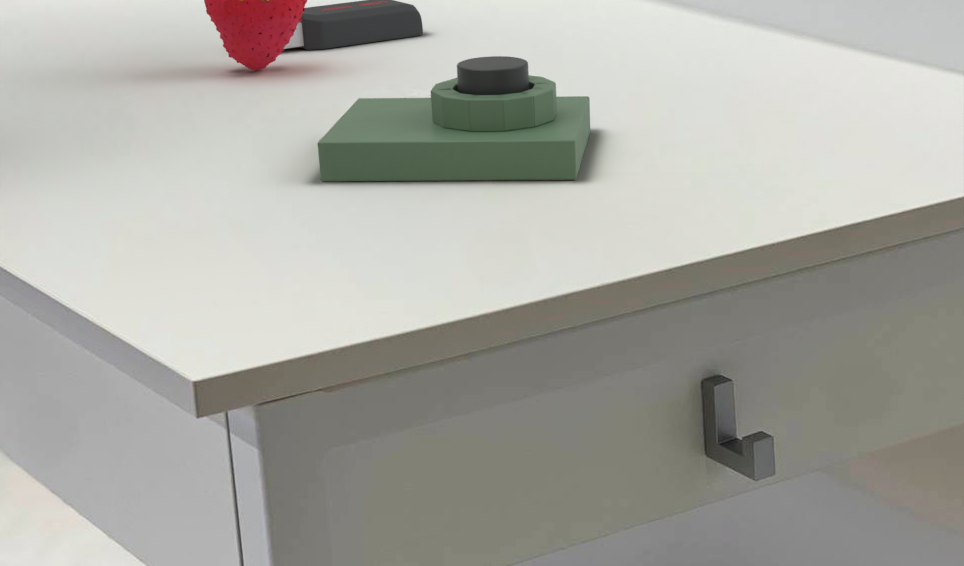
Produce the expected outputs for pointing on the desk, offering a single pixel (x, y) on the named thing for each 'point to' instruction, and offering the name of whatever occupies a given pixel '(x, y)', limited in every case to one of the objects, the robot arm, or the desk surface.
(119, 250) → the desk surface
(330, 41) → the usb drive
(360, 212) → the desk surface
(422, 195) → the desk surface
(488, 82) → the button
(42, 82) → the desk surface
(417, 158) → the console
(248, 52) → the strawberry
